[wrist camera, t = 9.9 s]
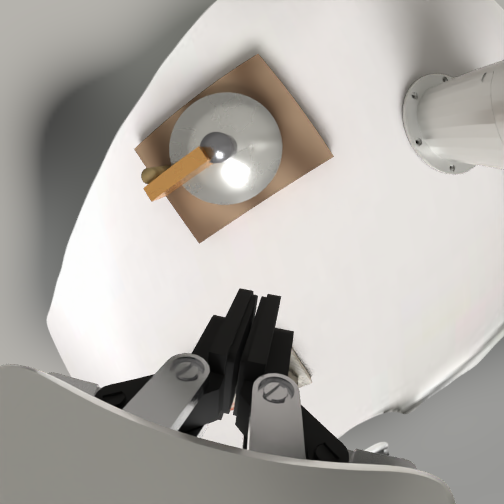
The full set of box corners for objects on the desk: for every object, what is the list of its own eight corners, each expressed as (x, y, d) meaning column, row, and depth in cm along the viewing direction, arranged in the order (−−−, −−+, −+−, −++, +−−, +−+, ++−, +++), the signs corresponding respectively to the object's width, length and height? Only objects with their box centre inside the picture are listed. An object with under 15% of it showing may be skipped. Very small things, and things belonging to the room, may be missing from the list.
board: (260, 59, 27) (251, 37, 21) (331, 156, 30) (341, 157, 24) (142, 148, 33) (110, 150, 26) (204, 238, 35) (184, 258, 29)
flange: (243, 74, 26) (233, 60, 21) (304, 166, 29) (306, 169, 24) (142, 146, 30) (118, 147, 25) (196, 231, 33) (180, 245, 28)
